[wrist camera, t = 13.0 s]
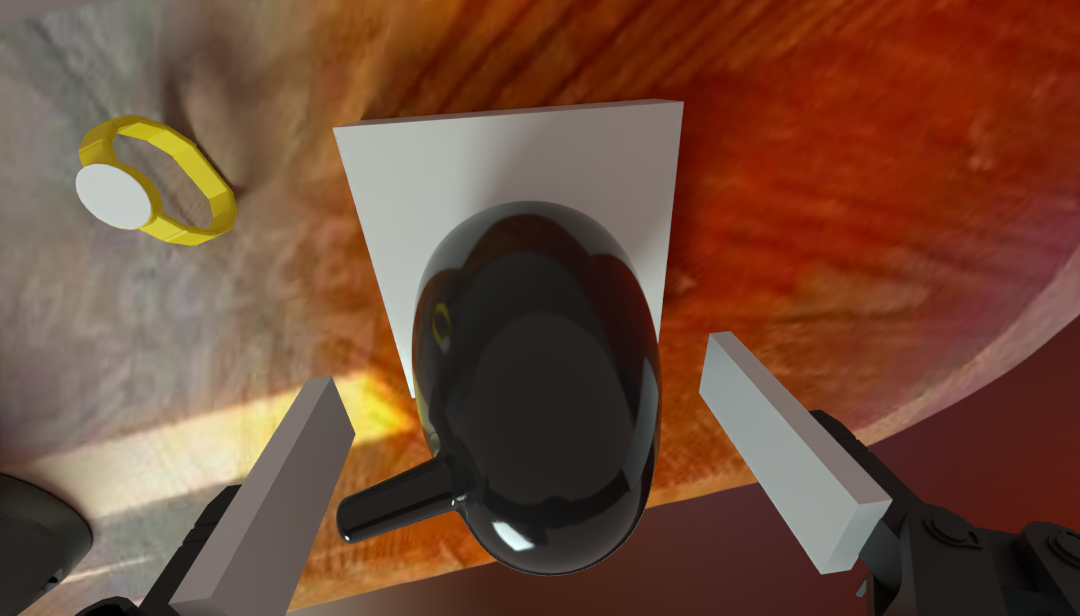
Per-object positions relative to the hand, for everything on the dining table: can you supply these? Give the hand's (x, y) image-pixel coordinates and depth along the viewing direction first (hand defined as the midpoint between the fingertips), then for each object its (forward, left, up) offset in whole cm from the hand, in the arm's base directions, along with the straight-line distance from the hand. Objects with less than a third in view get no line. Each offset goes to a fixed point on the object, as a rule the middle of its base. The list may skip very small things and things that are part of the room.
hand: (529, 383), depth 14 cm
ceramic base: (0, 0, -13) cm, 13 cm away
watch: (-17, +6, -13) cm, 22 cm away
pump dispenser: (0, 0, -9) cm, 9 cm away
